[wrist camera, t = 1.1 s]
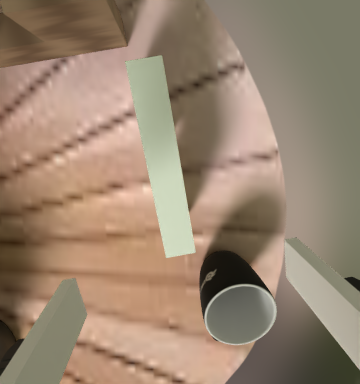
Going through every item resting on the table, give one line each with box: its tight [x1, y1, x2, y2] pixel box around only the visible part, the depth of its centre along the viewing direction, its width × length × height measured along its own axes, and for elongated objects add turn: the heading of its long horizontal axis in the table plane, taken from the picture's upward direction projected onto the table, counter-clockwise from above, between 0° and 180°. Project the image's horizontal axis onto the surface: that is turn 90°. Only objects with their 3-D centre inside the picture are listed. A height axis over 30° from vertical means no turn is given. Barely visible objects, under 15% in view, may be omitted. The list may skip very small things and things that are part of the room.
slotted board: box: [0, 0, 127, 68], centre depth 23 cm, size 20×3×12 cm, turn 100°
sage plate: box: [125, 55, 196, 258], centre depth 28 cm, size 3×20×12 cm, turn 10°
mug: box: [200, 251, 277, 345], centre depth 34 cm, size 12×9×10 cm
